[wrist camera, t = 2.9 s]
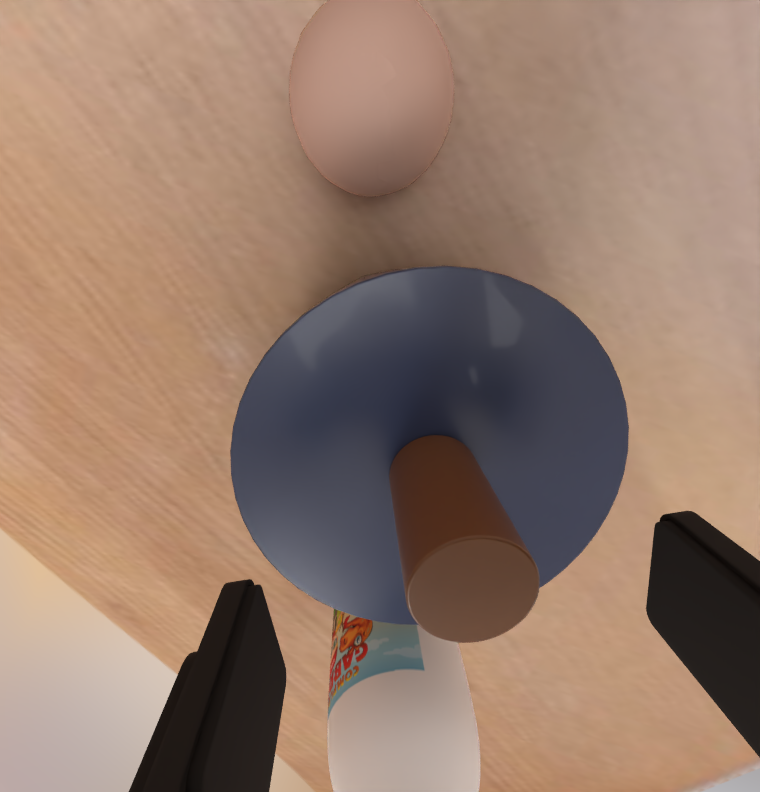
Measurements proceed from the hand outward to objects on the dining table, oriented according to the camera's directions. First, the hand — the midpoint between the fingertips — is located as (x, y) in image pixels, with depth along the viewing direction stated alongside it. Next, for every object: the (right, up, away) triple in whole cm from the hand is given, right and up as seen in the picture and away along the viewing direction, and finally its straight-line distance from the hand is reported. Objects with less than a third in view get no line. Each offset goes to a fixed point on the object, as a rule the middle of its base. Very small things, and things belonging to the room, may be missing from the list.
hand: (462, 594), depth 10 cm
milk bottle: (-1, -9, +22) cm, 23 cm away
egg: (-2, +19, +12) cm, 22 cm away
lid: (0, +2, +6) cm, 6 cm away
